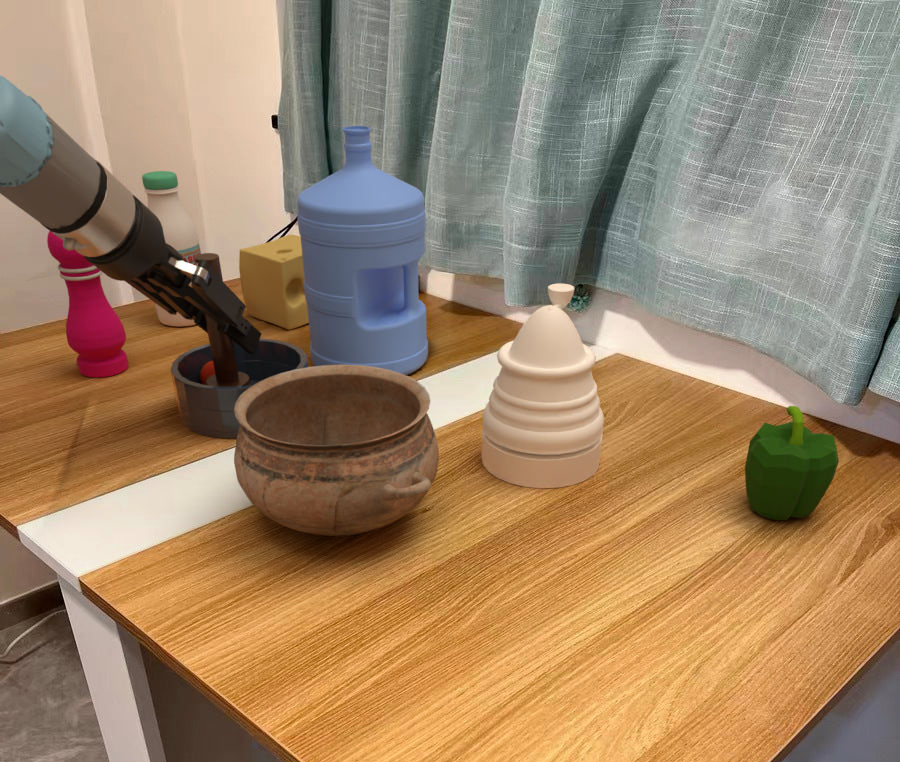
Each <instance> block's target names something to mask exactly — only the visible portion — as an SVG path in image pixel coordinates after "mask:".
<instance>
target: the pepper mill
mask: <svg viewBox="0 0 900 762" xmlns="http://www.w3.org/2000/svg"><path fill="white" fill-rule="evenodd" d="M63 242H64V241H63V240H62V239H60V238H59V237H58V236H56V235H55V234H53V233H52V232H51V231H50V230H48V233H47V239H46V243H47V248H48V251H49V253H50V255H51V256H52V257H53V259H54V260H56V261H57V262H58V263H59V264H58V265H57V270H58V271H59V277H60V278H61V279H62V280H64V282H65V286H66V288H67V294H68V311H67V318H66V323H65V335H66V342H67V345H68V346H69V348H70V349H71V350H73V352H75V353H76V354H77V355H78V356H77V357H76V364H77V368H78V371H79V373H80V374H81V375H82V376H85V377H88V378H99V379H100V378H108V377H113V376H116V375H120V374H121V373H123V372H125V371H127V369H128V368H129V366H130V365H129V360H128V356H127V352H126V351H125V350H123V349H122V348H123V347H124V346H125V343H126V340H127V333H126V331H125V327H124V325H123V322H122V320H121V318H120V317H119V315H118V314H117V312H116V311H115V310H114V308H113V307H112V305H111V304H110V302H109V300H108V298H107V296H106V293H105V291H104V288H103V285H102V281H101V276H102V275H103V272H102V271H100V270H99V269H98V268H97V267H95V266H94V265H93V264H91V263H90V262H89V261H87V260H86V259H85V258H84V256H83V255H81V254H80V253H78V252H77V251H75V250H71V251H68V250H67V249H65V248H64V247H63Z"/></svg>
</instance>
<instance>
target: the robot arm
mask: <svg viewBox="0 0 900 762" xmlns="http://www.w3.org/2000/svg"><path fill="white" fill-rule="evenodd" d="M0 195H1V196H3V197H4V198H5V199H7V200H8V201H10V202H11V203H12V204H13V205H15V206H16V207H18V208H19V209H20V210H22V211H23V212H25V213H26V214H27V215H29V216H30V217H32V218H33V219H34V220H35V221H37V222H38V223H39V224H41V226H42V227H44V228H45V229H47V230H48V231H51V232H52V233H53V234H55V235H56V236H58V237H59V238H60V239H62V240H63V241H64V242H63V247H64V248H65V249H67V250H68V251H71V250H75V251H77V252H78V253H80V254H81V255H83V256H84V258H85V259H86V260H87V261H89V262H90V263H91V264H93V265H94V266H95V267H97V268H98V269H99V270H100V271H102V274H104V275H106V276H107V277H108V278H109V279H112V280H114V281H120V282H126V284H128V285H130V287H132V288H134V290H136V291H138V292H139V293H141V295H144V297H146V298H147V299H149V300H150V301H152V302H153V303H154V304H155V303H156V304H157V305H159V306H160V307H161V308H163V309H164V310H166V311H167V312H168V313H169V314H172V315H176V313H177V312H178V313H179V314H180V315H181V316H183V317H184V318H185V319H187V320H192V319H193V320H194V323H195V324H196V326H198V327H199V328H200V329H201V330H202V331H204V332H205V333H206V334H208V331H207V326H206V320H205V315H204V313H205V314H206V315H208V316H209V317H210V318H212V319H213V320H214V321H216V322H217V323H218V325H217V331H219V332H221V333H224V334H226V335H227V336H228V337H230V338H231V339H232V340H233V345H234V342H235V343H237V344H238V345H239V346H240V347H241V348H243V349H244V350H245V351H246V352H247V353H249V354H253V355H254V353H255V350H256V347H257V345H258V342H259V339H260V338H261V337H262V332H261V331H259V329H258V328H256V327H255V326H254V325H253V324H252V323H251V322H250V321H249V320H248V319H246V318H245V317H244V316H243V314H244V312H245V310H246V304H245V302H243V301H242V300H241V299H240V298H239V297H238V296H237V295H236V293H235V292H233V291H232V289H231V288H230V287H229V286H228V285H227V284H226V283H225V282H224V280H223V281H222V280H221V279H220V278H219V277H218V276H217V275H216V274H215V273H214V271H213V269H212V266H211V264H210V263H209V262H207V261H206V260H202V259H200V260H199V262H198V263H196V265H193V264H190V263H188V262H187V261H186V260H184V259H183V257H182V255H181V254H180V253H178V251H177V250H175V249H174V248H173V247H172V246H170V245H169V244H167V243H166V242H165V238H164V233H163V228H162V225H161V222H160V220H159V219H158V217H157V216H156V215H155V214H154V213H153V212H152V211H150V210H149V209H148V208H147V206H146V204H144V203H143V202H142V201H141V200H140V199H139V198H138V197H137V196H136V195H134V194H133V193H132V192H131V191H130V190H129V188H128V187H127V186H126V185H125V184H123V182H121V180H120V179H118V178H117V177H116V176H115V175H114V174H112V172H110V171H109V170H108V169H107V168H106V166H104V165H103V163H101V162H100V161H98V160H96V159H95V158H94V157H93V156H91V155H90V154H89V153H88V152H87V151H86V150H85V148H83V147H82V146H81V145H80V144H78V142H77V141H75V139H73V138H72V137H71V136H70V135H69V134H68V133H67V132H66V131H65V130H64V129H63V128H62V127H61V126H60V125H59V124H58V123H57V122H56V121H55V120H53V118H51V117H50V116H49V115H48V113H46V112H45V110H44V109H43V107H42V106H41V105H40V104H39V103H38V101H37V100H35V99H34V97H32V96H31V95H27V94H26V93H24V92H23V90H21V89H20V88H19V87H17V85H15V84H13V82H11V81H10V80H9V79H7V77H5V76H3V75H1V74H0Z"/></svg>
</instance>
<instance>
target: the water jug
mask: <svg viewBox="0 0 900 762" xmlns="http://www.w3.org/2000/svg"><path fill="white" fill-rule="evenodd" d="M371 131H372V129H371V127H370V126H365V125H351V126H345V127H342V132H343V133H344V144H343V149H344V152H345V153H344V154H345V163H344V164H343V165H344V166H343V167H342V168H340V169H338V170H337V171H335V172H333V173H332V174H330V175H328V176H327V177H325V178H323V179H321V180H319V181H318V182H316V183H315V184H312V185H311V186H309V187H306V189H304V190H302V191H301V192H300V193H299V194H298V196H297V199H296V205H297V213H296V216H297V218H296V219H297V227H298V233H299V236H300V237H301V247H302V257H303V267H304V278H305V280H304V290H305V298H306V302H307V308H308V319H309V323H308V326H309V327H308V328H309V335H310V336H309V339H310V344H309V350H310V359H311V362H312V364H313V366H323V365H361V366H372V367H377V368H383V369H387V370H391V371H395V372H398V373H401V374H403V375H406V376H408V375H411V374H412V373H415V372H416V371H418V370H419V369H420V368H421V367H423V366H424V364H425V363H426V362H427V360H428V356H429V341H428V337H427V336H428V334H427V329H428V328H427V307H426V305H425V303H424V302H423V301H422V300H421V299H419V298H420V297H419V296H420V295H419V294H420V292H419V261H420V259H422V257H423V256H424V254H425V252H426V230H427V229H426V227H427V218H426V217H427V213H426V208H425V196H424V194H423V192H422V191H421V190H420V189H419V188H418V187H416V186H413V185H412V184H409V183H408V182H406V181H403V180H401V179H399V178H397V177H395V176H393V175H391V174H390V173H387V172H385V171H383V170H381V169H379V168H377V167H376V166H375V165H374V163H373V160H372V147H373V146H372V142H371V139H370V137H371V136H370V133H371Z"/></svg>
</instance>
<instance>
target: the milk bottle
mask: <svg viewBox="0 0 900 762" xmlns="http://www.w3.org/2000/svg"><path fill="white" fill-rule="evenodd" d="M141 180H142V185H143V188H144V193H146V196H147V197H146V198H147V206H146V207H147V208H148V209H149V210H150V211H152V212H153V213H154V214H155V215H156V216H157V217H158V219H159V220H160V222H161V225H162V228H163V233H164V238H165V242H166V243H167V244H169V245H170V246H172V247H173V248H174V249H175V250H177V251H178V253H180V254H181V255H182V257H183V259H184V260H186V261H187V262H188V263H190V264H193V265H195V259H194V257H195V256H196V255H199V254H202V251H201V247H200V246H201V245H200V242H199V237H198V234H197V233H198V232H197V230H196V228H195V225H194V223H193V221H192V220H191V218H190V217H189V214H188V213H187V212H186V210H185V208H184V206H183V204H182V201H181V199H180V197H179V190H180V188H179V181H178V176H177V174H176V173H175V172H174V171H169V170H156V171H148V172H145V173H143V174H142V176H141ZM154 305H155V306H154V307H155V312H156V315H157V319H158V320H159V322H160V324H163V325H165V326H169V327H190V326H195V325H196V326H197V324H195V323H194V320H193V319H192V320H187V319H185V318H184V317H183V316H181V315H180V314H179V313H178V312H177V313H176V315H172V314H169V313H168V312H167V311H166V310H164V309H163V308H161V307H160V306H159V305H157V304H156V303H155V302H154Z"/></svg>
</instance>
